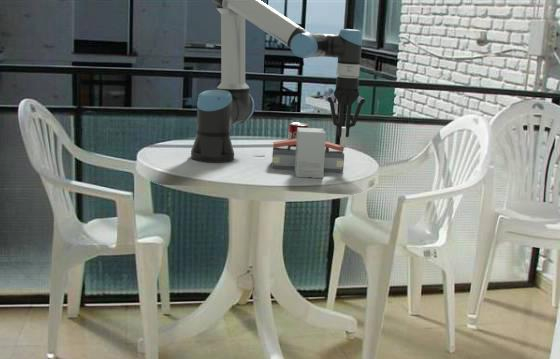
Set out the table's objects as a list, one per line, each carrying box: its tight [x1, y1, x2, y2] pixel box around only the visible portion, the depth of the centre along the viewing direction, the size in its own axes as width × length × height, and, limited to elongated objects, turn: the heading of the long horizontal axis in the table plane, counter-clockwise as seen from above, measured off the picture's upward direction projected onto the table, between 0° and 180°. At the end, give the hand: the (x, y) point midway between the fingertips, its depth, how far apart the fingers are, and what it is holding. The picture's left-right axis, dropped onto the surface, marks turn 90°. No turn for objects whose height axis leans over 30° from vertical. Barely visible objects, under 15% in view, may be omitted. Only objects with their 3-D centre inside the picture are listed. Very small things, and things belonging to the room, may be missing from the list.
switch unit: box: [271, 145, 345, 173], centre depth 235 cm, size 24×10×7 cm, turn 90°
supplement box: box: [294, 127, 327, 179], centre depth 223 cm, size 9×9×15 cm
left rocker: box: [272, 139, 296, 148], centre depth 234 cm, size 11×4×1 cm, turn 90°
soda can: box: [287, 122, 310, 147], centre depth 253 cm, size 7×7×12 cm
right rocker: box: [325, 141, 345, 153], centre depth 234 cm, size 11×4×1 cm, turn 91°
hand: (342, 146), depth 234 cm, fingers closed
